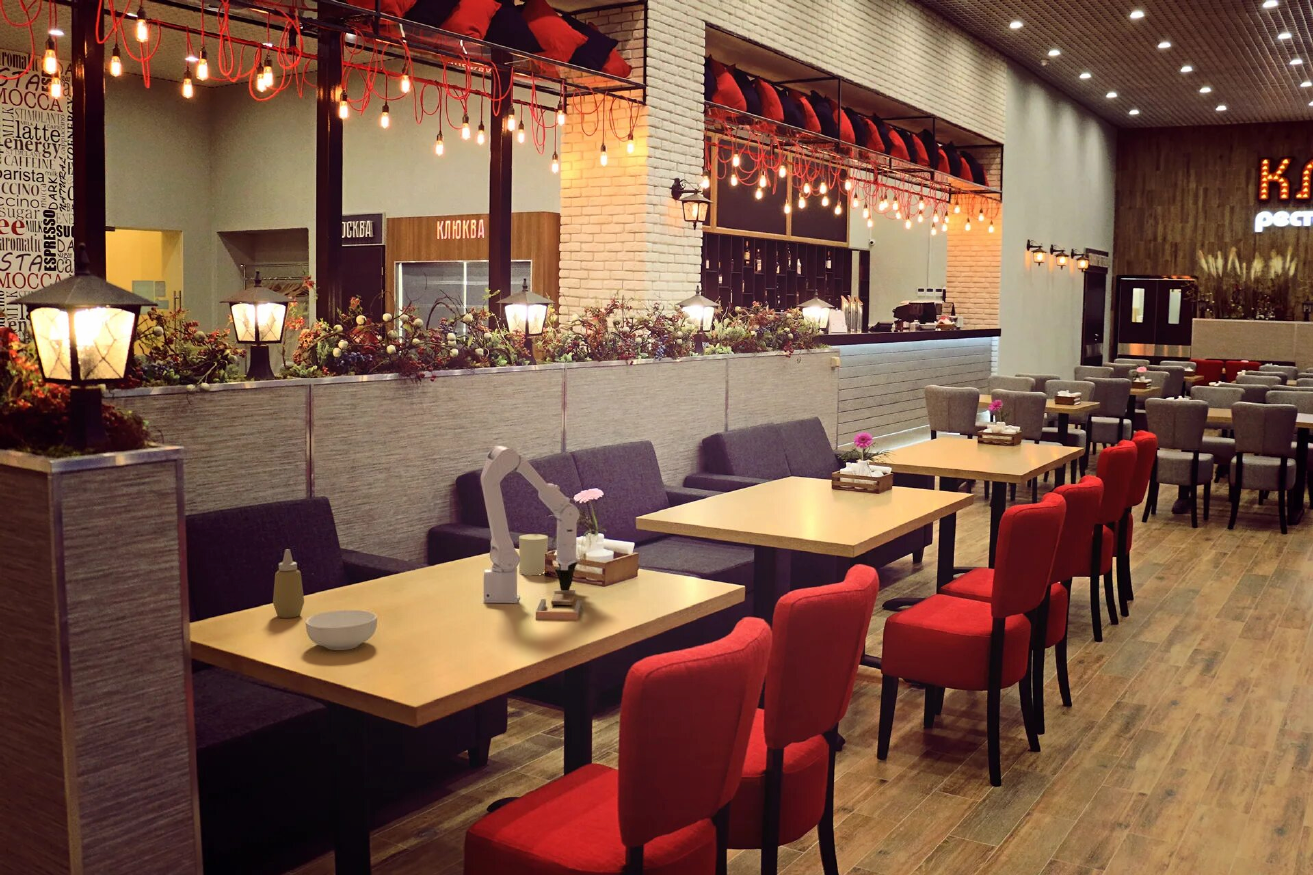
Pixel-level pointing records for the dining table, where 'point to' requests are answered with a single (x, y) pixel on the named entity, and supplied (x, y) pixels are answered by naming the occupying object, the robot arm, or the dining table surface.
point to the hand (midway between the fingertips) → (566, 589)
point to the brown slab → (563, 597)
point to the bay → (558, 612)
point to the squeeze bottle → (288, 589)
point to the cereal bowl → (341, 628)
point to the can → (532, 553)
